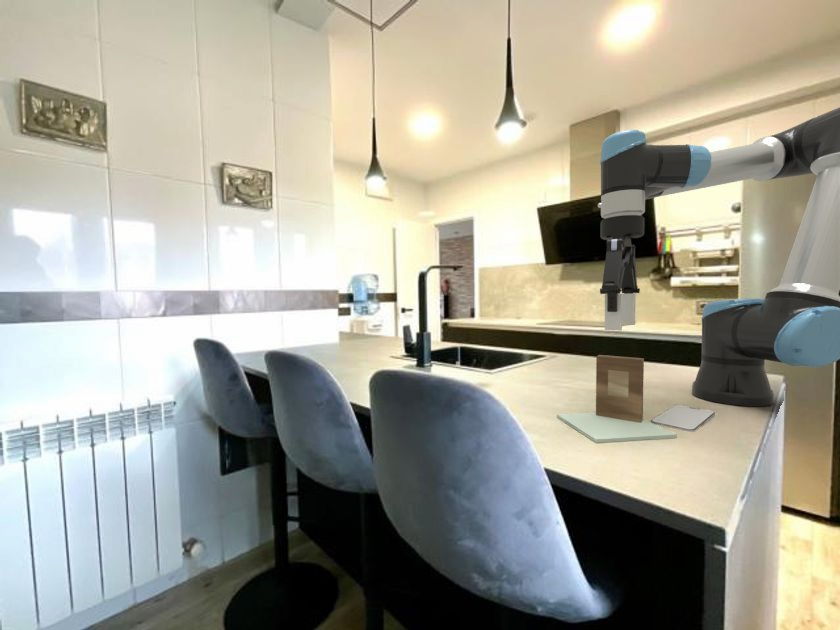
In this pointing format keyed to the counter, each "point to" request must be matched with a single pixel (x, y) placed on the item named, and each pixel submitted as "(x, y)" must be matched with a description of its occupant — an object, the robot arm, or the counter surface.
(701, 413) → the smartphone
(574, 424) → the mat
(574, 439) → the counter surface
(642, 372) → the board
